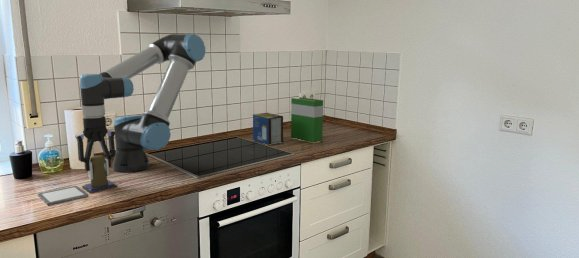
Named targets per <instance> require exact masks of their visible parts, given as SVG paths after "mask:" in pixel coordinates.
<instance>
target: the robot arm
mask: <svg viewBox="0 0 579 258" xmlns="http://www.w3.org/2000/svg"><path fill="white" fill-rule="evenodd" d="M205 55H206V46H205V42H204V40H203V38H202V37H200V35H197V34H196V33H195V34H193V33H186V34H185V33H183V34H182V33H180V34H179V33H178V34H177V33H176V34H175V33H171V34H168V35H166V36H163V37H160V38H159V39H157V40H155V41H154V42H151V43H150V44H148V45H147V47H146V49H144V50H142V51H140V52H137V53H136V54H135V55H132V56H130V57H129V58H127V59H125V60H123V61H121V62H119V63H118V64H115V65H113V66H111V67H110V68H108V69H106V70H104V71H102V72H101V73H85V74H81V75H80V76H79V89H80V97H81V100H80V101H81V111H82V116H83V118H82V122H83V131H82V133H80V134H75V139H76V141H77V155H78V161H79V162H81V163H84V170H85V171H86V172H87V176H88V179H89V180H90V181H91V180H93V170H92V162H90V159H91V157H92V151H93V145H94V144H95V142H98V143H99V144H100V147H101V148H102V152H103V154H104V155H103V156H104V157H105V163H104V167H105V171H106V175H107V178H108V177H110V168H111V167H112V170H113V171H116V172H120V173H132V172H133V173H135V172H139V171H143V170H147V169H148V168H149V167H150V160H149V158H148V155H147V152H146V151H145V149H146V150H148V151H149V150H150V151H158V150H161V149H163V148H165V146H167V144H168V143H169V141H170V139H171V128H170V121H169V118H170V115H171V113H172V110H173V108H174V105H175V103H176V100H177V99H178V96H179V94H180V92H181V89H182V86H183V85H184V82H185V80H186V78H187V75H188V73H189V71H190V70H193V69H194V68H195V66H196V63H197V62H199V61H202V60H203V59H204V57H205ZM168 61H169V64H168V66H167V68H166V70H165V72H164V75H163V78H162V79H161V82H160V84H159V86H158V88H157V91H156V93H155V96H153V97H154V98H153V100H152V102H151V105H150V107H149V108H148V111H145V112H143V113H142V114H134V115H132V114H131V115H126V116H125V115H124V116H123V115H122V116H119V117H116V118H114V120H113V129H114V130H108V128H107V121H106V116H105V115H106V110H105V109H106V108H105V100H108V99H109V100H110V99H119V98H122V99H123V98H126V97H127V98H128V97H131V96H132V95H133V93H134V84H133V81H132V80H131V79H132V78H133V77H135V76H137V75H139V74H141V73H142V72H144V71H146V70H148V69H149V68H151V67H153V66H154V65H156V64H157V65H158V64H159V65H160V64H161V65H162V64H163V63H164V62H168ZM106 136H107V137H108V146H107V142H106V138H105V137H106ZM84 137H85V138H86V139H87V141H86V148H84V140H85V138H84ZM108 147H109V148H108ZM84 149H85V150H84ZM112 158H113V162H112V161H111V160H112ZM111 162H112V163H111Z"/></svg>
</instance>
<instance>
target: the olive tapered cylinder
mask: <svg viewBox="0 0 579 258" xmlns="http://www.w3.org/2000/svg"><path fill="white" fill-rule="evenodd" d="M105 158H106V157H105V155H100V154H98V155H93V156H91V157H90V162H92V170H93V180H91V179H90V183H91V186H93V187H100V186H105V185H107V184H108V180H109V179H108V177H107V175H106V171H105V167H104V163H105Z"/></svg>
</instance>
